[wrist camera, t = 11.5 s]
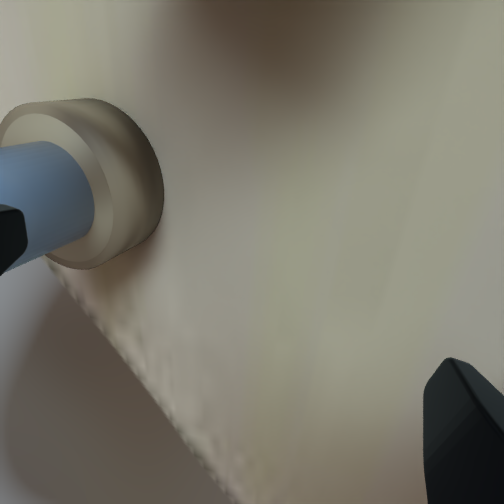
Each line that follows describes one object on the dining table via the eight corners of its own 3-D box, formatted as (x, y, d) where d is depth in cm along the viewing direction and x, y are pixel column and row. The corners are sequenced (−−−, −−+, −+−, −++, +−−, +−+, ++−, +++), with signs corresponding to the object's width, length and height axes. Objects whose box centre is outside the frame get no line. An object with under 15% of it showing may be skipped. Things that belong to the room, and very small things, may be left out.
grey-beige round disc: (191, 195, 22) (150, 214, 19) (113, 270, 27) (71, 294, 24) (88, 61, 22) (30, 60, 19) (28, 163, 27) (-25, 174, 24)
